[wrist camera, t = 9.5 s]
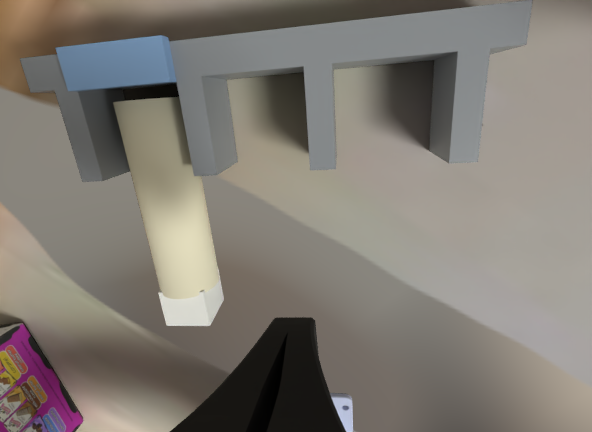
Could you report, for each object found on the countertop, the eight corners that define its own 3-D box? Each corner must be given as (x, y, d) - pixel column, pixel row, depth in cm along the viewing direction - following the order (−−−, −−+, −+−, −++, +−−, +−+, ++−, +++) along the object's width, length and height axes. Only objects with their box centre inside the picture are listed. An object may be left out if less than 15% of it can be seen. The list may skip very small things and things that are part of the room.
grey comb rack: (478, 148, 17) (516, 162, 14) (104, 169, 21) (51, 186, 17) (492, 16, 15) (542, -10, 12) (74, 62, 19) (6, 53, 15)
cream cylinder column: (231, 295, 23) (214, 330, 20) (182, 296, 23) (157, 330, 20) (197, 96, 19) (167, 97, 15) (137, 101, 19) (96, 103, 16)
